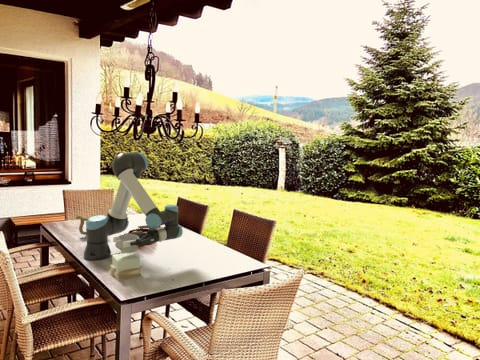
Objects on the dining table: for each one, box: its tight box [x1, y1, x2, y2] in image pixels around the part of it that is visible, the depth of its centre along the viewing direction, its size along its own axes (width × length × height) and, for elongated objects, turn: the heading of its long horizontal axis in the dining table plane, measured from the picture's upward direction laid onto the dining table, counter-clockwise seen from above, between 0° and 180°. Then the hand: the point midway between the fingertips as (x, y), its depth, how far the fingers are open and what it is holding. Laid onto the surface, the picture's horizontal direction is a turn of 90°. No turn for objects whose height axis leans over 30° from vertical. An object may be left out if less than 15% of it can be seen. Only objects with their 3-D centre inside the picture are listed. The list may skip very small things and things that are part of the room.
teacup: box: [114, 233, 140, 254], centre depth 200 cm, size 14×11×8 cm
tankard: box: [75, 215, 91, 239], centre depth 265 cm, size 20×13×15 cm, turn 84°
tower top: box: [111, 252, 140, 271], centre depth 202 cm, size 11×11×5 cm
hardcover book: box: [137, 224, 162, 230], centre depth 288 cm, size 16×23×2 cm
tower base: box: [109, 263, 142, 281], centre depth 202 cm, size 12×12×5 cm
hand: (118, 242), depth 198 cm, fingers closed on teacup, 11 cm apart
